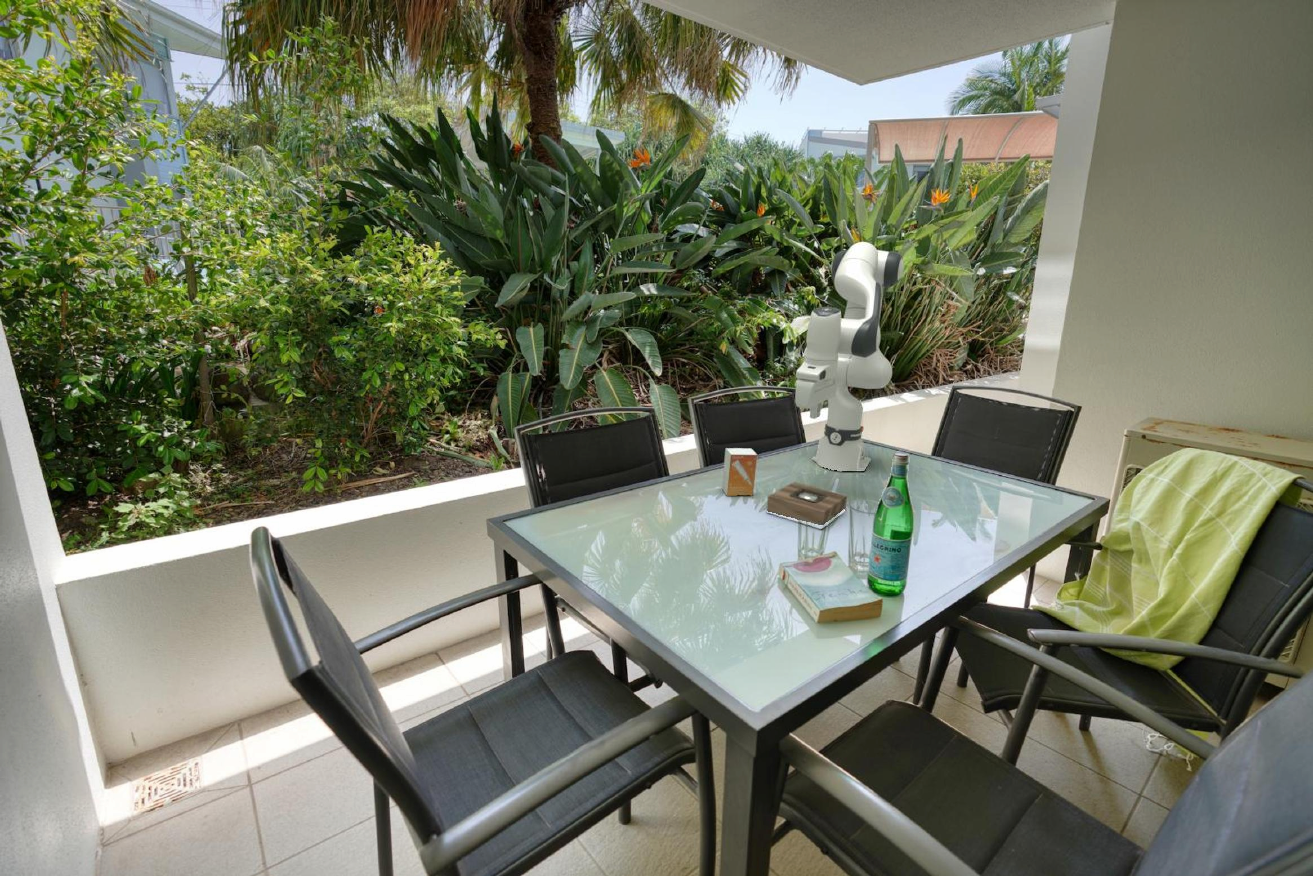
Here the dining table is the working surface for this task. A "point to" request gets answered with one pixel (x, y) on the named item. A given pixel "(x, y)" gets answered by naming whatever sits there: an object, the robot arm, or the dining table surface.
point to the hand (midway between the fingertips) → (814, 417)
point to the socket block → (806, 503)
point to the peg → (808, 496)
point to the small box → (739, 471)
